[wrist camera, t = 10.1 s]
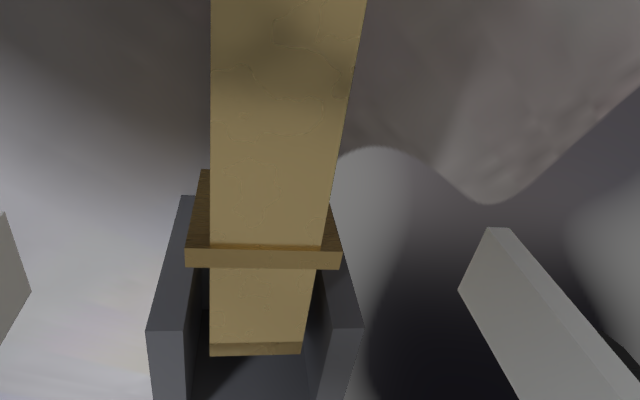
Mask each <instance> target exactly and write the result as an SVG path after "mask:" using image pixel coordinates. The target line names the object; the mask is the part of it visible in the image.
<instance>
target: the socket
mask: <svg viewBox="0 0 640 400" xmlns="http://www.w3.org/2000/svg"><path fill="white" fill-rule="evenodd" d="M194 201H195V196H188V195H181V199H180V203H179V207H178V210H177V214H176V218H175V221H174V225H173V229H172V233H171V236H170V240H169V244H168V247H167V251H166V255H165V259H164V262H163V266H162V270H161V273H160V277H159V281H158V285H157V288H156V292H155V296H154V299H153V303H152V307H151V311H150V314H149V318H148V322H147V325H146V329H145V336H146V345H147V353H148V361H149V369H150V377H151V385H152V393H153V400H343V398H344V396H345V392H346V389H347V386H348V383H349V379H350V376H351V373H352V369H353V366H354V363H355V360H356V356H357V353H358V350H359V346H360V343H361V340H362V337H363V333H364V330H365V326H364V323H363V319H362V316H361V312H360V309H359V305H358V302H357V298H356V294H355V291H354V287H353V284H352V280H351V277H350V274H349V270H348V267H347V263H346V260H345V256H344V253H343V255H342V259H341V264H340V268H339V270H326V269H316V274H315V279H314V285H313V290H312V295H311V301H310V306H309V311H308V316H307V322H306V327H305V332H304V338H303V343H302V348H301V353H300V354H289V355H251V356H213V357H210V268H192V267H185V253H184V247H185V243H186V238H187V233H188V229H189V224H190V219H191V215H192V210H193V206H194ZM331 211H332V210H331ZM333 218H334V217H333ZM337 232H338V231H337ZM338 236H339V235H338ZM339 239H340V238H339ZM340 243H341V242H340ZM341 246H342V245H341ZM342 250H343V249H342Z"/></svg>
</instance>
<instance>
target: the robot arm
mask: <svg viewBox="0 0 640 400" xmlns="http://www.w3.org/2000/svg"><path fill="white" fill-rule="evenodd" d="M31 292H32V291H31V288H30V285H29V282H28V279H27V276H26V273H25V270H24V267H23V264H22V262H21V259H20V256H19V253H18V250H17V247H16V244H15V241H14V238H13V235H12V232H11V229H10V226H9V223H8V220H7V217H6V214H5V212H0V345H1V343H2V342H3V340H4V338H5V336H6V335H7V333H8V331H9V330H10V328H11V326H12V324H13V323H14V321H15V319H16V317H17V316H18V314H19V312H20V311H21V309H22V307H23V305H24V304H25V302H26V300H27V298H28V297H29V295H30V293H31ZM458 292H459V294H460V295H461V297H462V299H463V301H464V302H465V304H466V306H467V308H468V310H469V311H470V313H471V315H472V317H473V318H474V320H475V322H476V324H477V325H478V327H479V329H480V331H481V332H482V334H483V336H484V338H485V340H486V341H487V343H488V345H489V346H490V348H491V350H492V352H493V354H494V356H495V357H496V359H497V361H498V363H499V364H500V366H501V368H502V370H503V371H504V373H505V375H506V376H507V378H508V380H509V382H510V384H511V386H512V387H513V389H514V391H515V393H516V394H517V396H518V398H519V400H640V366H639V365H638V363H637V362H636V361H635V360H634V359H633V358H632V357H631V355H630V354H629V353H628V352H627V351H626V350H625V349H624V348H623V347H622V346H621V345H619V344H618V343H617V342H616V341H614V340H613V339H612V338H610V337H609V336H608V335H606V334H605V333H604V332H603V331H596V330H595V329H594V328H593V326H592V325H591V324H590V323H589V322H588V321H587V320H586V318H585V317H584V316H583V315H582V313H581V312H580V311H579V310H578V309H577V308H576V306H575V305H574V304H573V303H572V302H571V300H570V299H569V298H568V297H567V296H566V295H565V293H564V292H563V291H562V290H561V289H560V288H559V286H558V285H557V284H556V283H555V282H554V281H553V279H552V278H551V277H550V276H549V274H548V273H547V272H546V271H545V270H544V269H543V267H542V266H541V265H540V264H539V263H538V262H537V260H536V259H535V258H534V257H533V256H532V254H531V253H530V252H529V251H528V250H527V248H526V247H525V246H524V245H523V244H522V243H521V241H520V240H519V239H518V238H517V237H516V235H515V234H514V233H513V232H512V231H511V230H510V228H501V227H487V228H486V230H485V233H484V235H483V237H482V239H481V241H480V243H479V245H478V247H477V250H476V251H475V254H474V256H473V258H472V260H471V262H470V264H469V266H468V268H467V271H466V273H465V275H464V277H463V279H462V281H461V284H460V285H459V287H458Z"/></svg>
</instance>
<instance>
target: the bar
mask: <svg viewBox="0 0 640 400" xmlns="http://www.w3.org/2000/svg"><path fill="white" fill-rule="evenodd" d="M366 5H367V0H211V72H210V170H209V169H201V173H200V178H199V182H198V187H197V192H196V196H195V201H194V206H193V210H192V215H191V219H190V224H189V229H188V233H187V238H186V243H185V247H184V253H185V267H192V268H210V357H213V356H251V355H289V354H300V353H301V348H302V343H303V338H304V332H305V327H306V322H307V316H308V311H309V306H310V301H311V295H312V290H313V285H314V279H315V274H316V269H326V270H339V268H340V264H341V259H342V255H343V250H342V246H341V243H340V239H339V236H338V232H337V228H336V225H335V221H334V218H333V214H332V211H331V207H330V204H329V200H330V195H331V190H332V184H333V179H334V174H335V169H336V163H337V158H338V153H339V148H340V142H341V137H342V132H343V126H344V121H345V116H346V111H347V105H348V100H349V95H350V89H351V84H352V79H353V74H354V68H355V63H356V58H357V53H358V47H359V42H360V37H361V31H362V26H363V21H364V16H365V10H366Z"/></svg>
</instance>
